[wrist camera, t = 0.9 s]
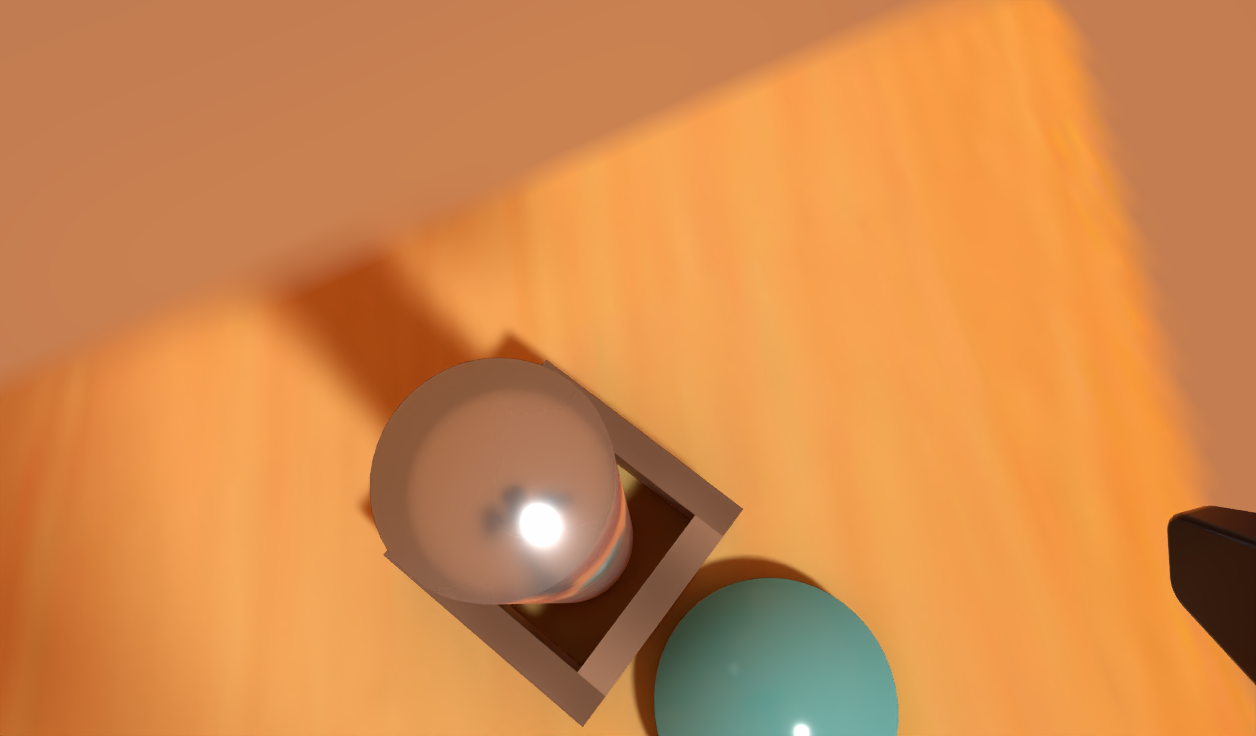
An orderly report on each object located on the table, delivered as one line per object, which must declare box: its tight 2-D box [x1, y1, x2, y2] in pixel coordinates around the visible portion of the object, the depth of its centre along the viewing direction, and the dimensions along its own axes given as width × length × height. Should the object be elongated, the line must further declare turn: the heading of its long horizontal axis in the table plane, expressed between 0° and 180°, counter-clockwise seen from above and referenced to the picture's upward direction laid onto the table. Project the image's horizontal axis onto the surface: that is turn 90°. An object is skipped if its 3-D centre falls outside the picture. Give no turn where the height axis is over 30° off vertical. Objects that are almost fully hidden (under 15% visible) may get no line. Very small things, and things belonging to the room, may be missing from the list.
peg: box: [370, 358, 633, 604], centre depth 19 cm, size 4×4×13 cm
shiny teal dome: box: [654, 578, 898, 736], centre depth 24 cm, size 7×7×1 cm
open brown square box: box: [384, 360, 743, 727], centre depth 25 cm, size 8×8×2 cm
